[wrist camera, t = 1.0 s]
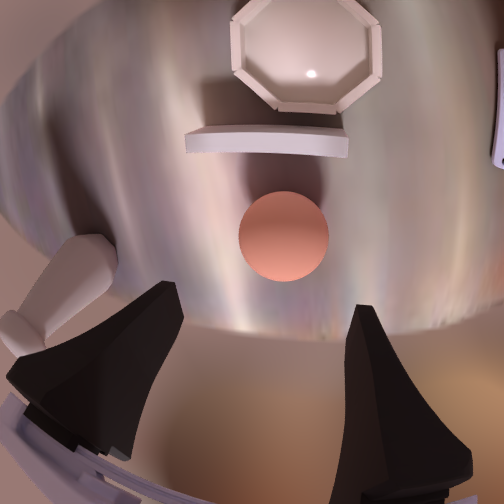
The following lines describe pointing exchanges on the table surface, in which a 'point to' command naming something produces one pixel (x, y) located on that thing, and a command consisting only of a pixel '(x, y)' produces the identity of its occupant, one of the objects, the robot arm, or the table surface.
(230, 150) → the wall
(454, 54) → the table surface
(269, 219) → the ball
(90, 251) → the salt shaker
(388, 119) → the table surface
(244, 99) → the table surface
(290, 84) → the coaster
